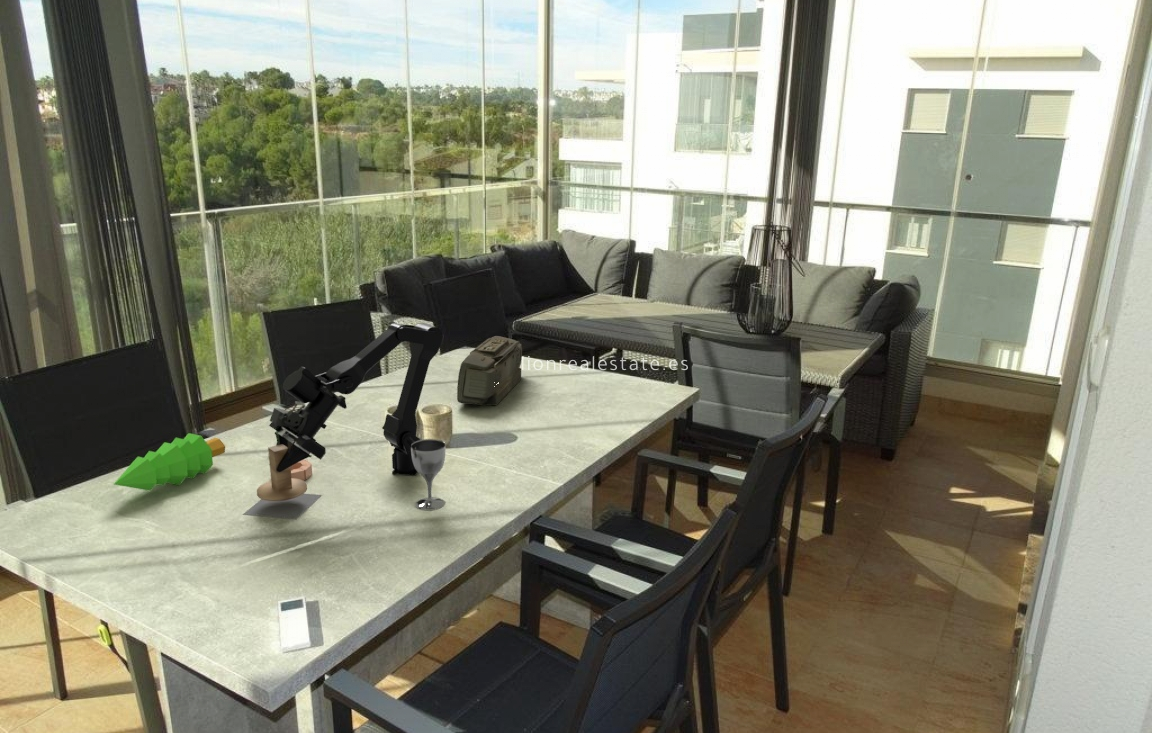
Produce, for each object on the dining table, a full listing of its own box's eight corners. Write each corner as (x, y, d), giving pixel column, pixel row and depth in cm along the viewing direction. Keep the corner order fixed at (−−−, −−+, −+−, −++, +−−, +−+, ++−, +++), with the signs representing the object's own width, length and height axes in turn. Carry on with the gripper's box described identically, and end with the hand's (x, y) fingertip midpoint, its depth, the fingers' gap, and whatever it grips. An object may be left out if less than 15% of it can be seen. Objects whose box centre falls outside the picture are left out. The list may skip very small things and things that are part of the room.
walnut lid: (295, 477, 192) (291, 435, 189) (315, 492, 185) (311, 448, 182) (249, 489, 185) (245, 446, 182) (268, 505, 177) (264, 460, 174)
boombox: (498, 386, 299) (482, 336, 296) (541, 375, 294) (524, 324, 291) (457, 418, 257) (438, 360, 254) (506, 406, 252) (487, 347, 249)
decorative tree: (223, 421, 206) (119, 456, 179) (239, 462, 207) (137, 503, 180) (195, 430, 211) (89, 466, 184) (210, 471, 212) (107, 512, 185)
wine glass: (431, 514, 184) (429, 454, 180) (406, 505, 188) (403, 446, 184) (453, 501, 190) (452, 443, 186) (428, 493, 195) (427, 436, 190)
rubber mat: (322, 497, 191) (322, 495, 191) (296, 521, 179) (296, 519, 179) (271, 493, 193) (271, 490, 193) (242, 516, 181) (242, 514, 180)
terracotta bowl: (317, 472, 206) (316, 460, 205) (301, 486, 197) (300, 474, 196) (284, 469, 207) (283, 458, 206) (267, 483, 198) (266, 471, 197)
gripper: (274, 385, 188) (231, 440, 184) (308, 405, 175) (263, 464, 170) (308, 410, 195) (268, 463, 191) (344, 430, 182) (301, 487, 178)
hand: (274, 468), depth 182 cm, fingers closed on walnut lid, 3 cm apart
